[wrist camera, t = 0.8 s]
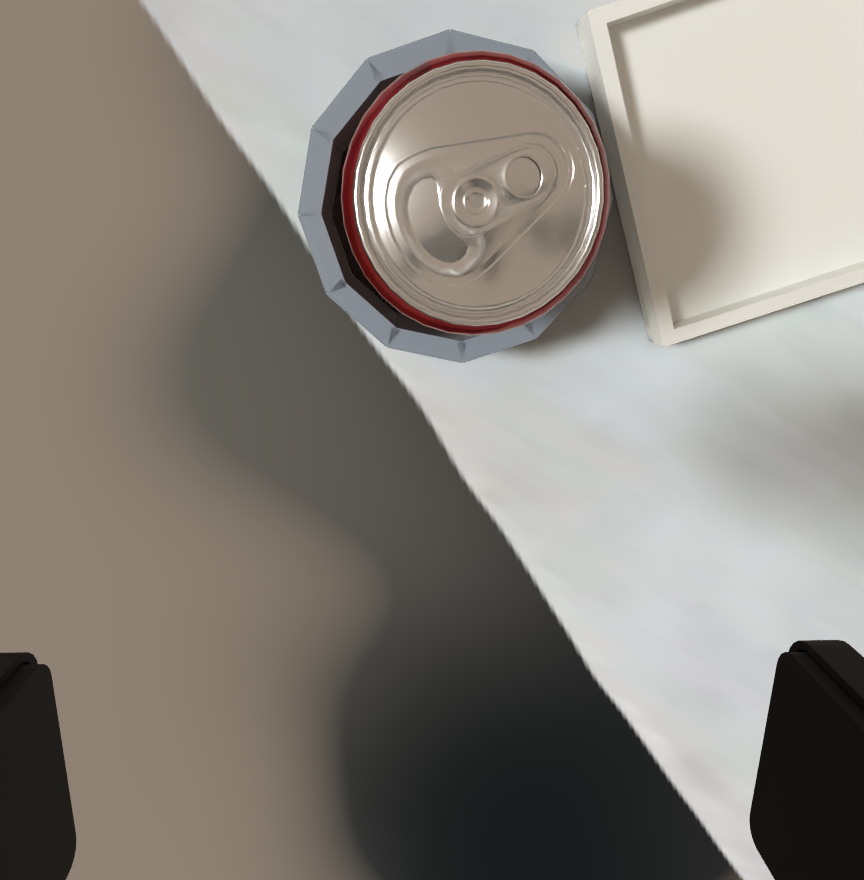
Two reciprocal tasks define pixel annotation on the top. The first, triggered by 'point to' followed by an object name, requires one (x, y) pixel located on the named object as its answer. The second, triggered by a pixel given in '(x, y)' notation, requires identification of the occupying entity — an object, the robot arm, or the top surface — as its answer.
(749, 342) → the top surface
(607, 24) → the tray
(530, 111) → the soda can
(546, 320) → the holder
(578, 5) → the top surface
